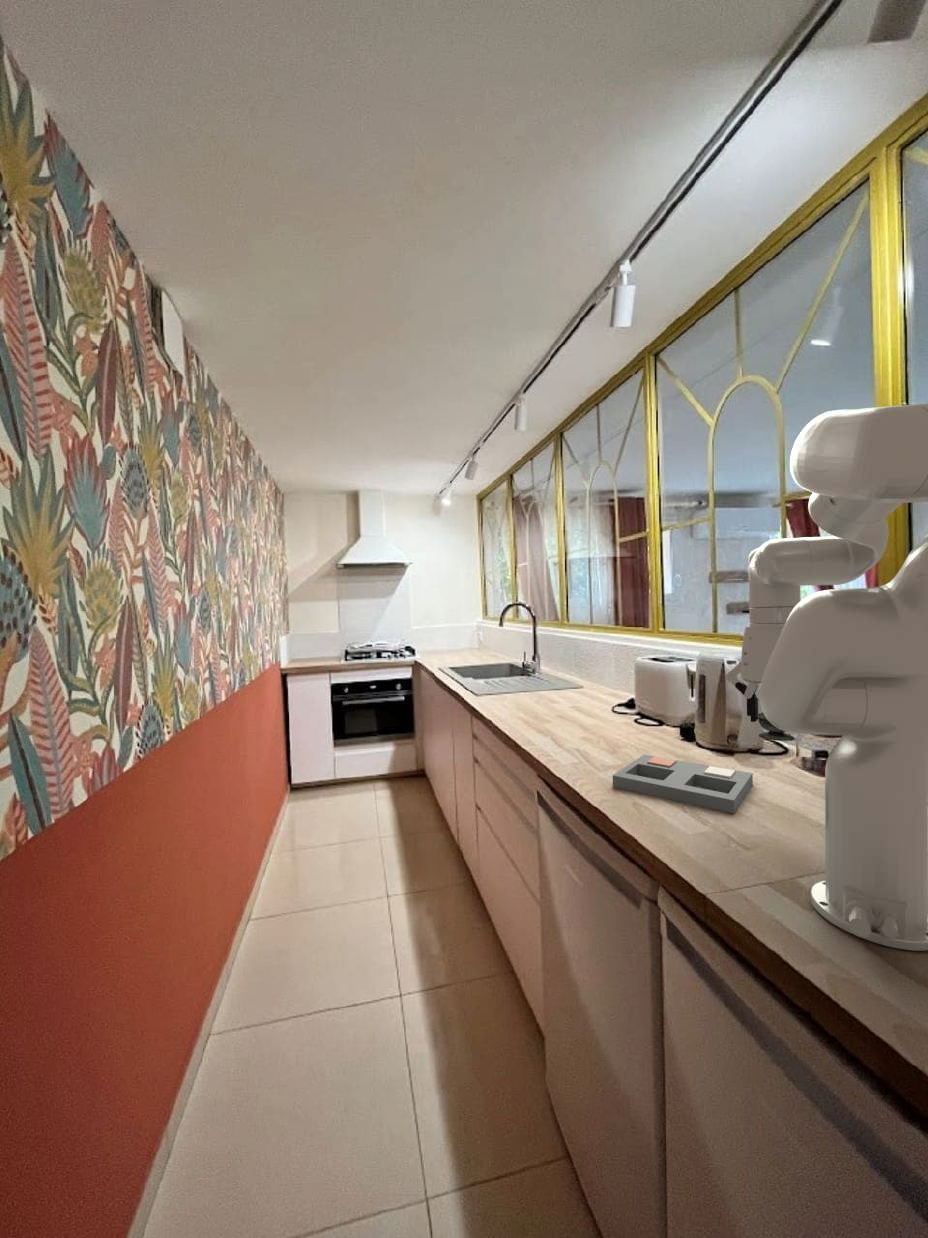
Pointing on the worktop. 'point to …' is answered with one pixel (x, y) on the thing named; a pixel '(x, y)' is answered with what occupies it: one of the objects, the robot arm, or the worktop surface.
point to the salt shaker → (772, 730)
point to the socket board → (685, 782)
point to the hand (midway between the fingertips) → (776, 721)
